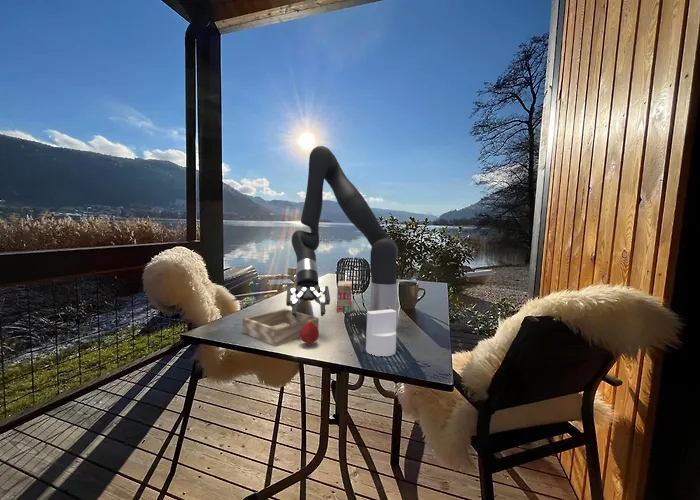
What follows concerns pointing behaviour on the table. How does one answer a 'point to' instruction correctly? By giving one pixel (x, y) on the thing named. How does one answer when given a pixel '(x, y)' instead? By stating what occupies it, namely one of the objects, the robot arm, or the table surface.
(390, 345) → the cylinder with rectangular tab
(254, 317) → the wooden box
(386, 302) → the robot arm
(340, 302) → the cardboard carton
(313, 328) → the onion
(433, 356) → the table surface
